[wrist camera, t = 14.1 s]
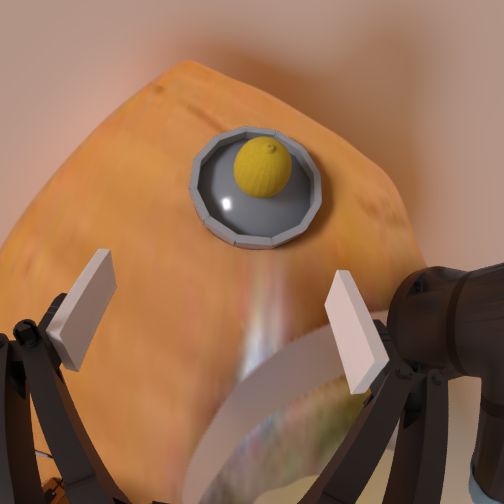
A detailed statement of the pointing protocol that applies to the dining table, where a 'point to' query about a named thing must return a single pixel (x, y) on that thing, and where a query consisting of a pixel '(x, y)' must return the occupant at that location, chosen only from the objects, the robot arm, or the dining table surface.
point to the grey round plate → (249, 208)
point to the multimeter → (51, 487)
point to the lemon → (262, 167)
